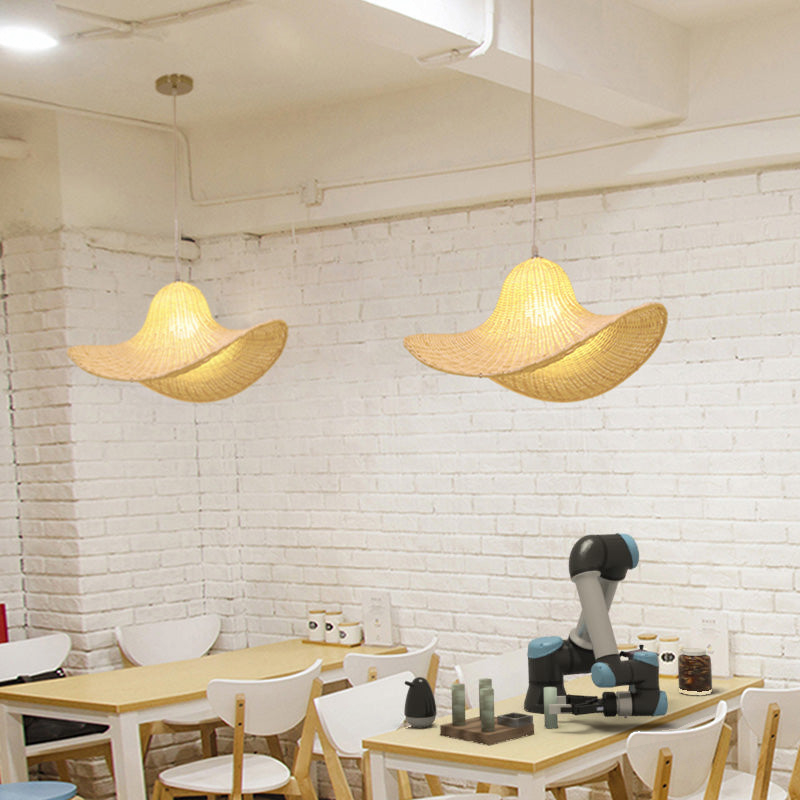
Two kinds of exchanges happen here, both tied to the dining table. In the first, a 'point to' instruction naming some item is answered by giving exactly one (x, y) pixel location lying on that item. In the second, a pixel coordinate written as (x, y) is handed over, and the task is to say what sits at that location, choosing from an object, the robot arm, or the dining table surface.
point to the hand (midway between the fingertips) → (546, 705)
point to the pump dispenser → (420, 703)
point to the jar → (694, 670)
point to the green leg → (549, 699)
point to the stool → (484, 718)
